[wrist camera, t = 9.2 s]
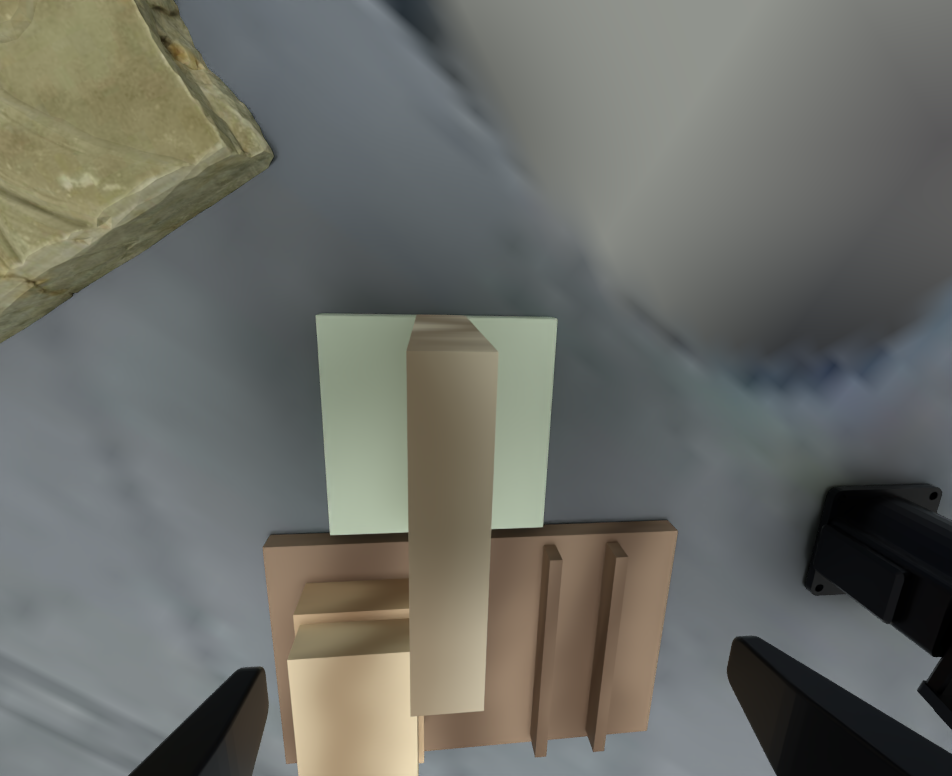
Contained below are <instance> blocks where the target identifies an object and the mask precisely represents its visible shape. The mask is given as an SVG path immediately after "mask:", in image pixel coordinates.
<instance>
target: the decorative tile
mask: <svg viewBox="0 0 952 776" xmlns="http://www.w3.org/2000/svg"><path fill="white" fill-rule="evenodd" d="M273 157H274V155H273V152H272V150H271V148H270V146H269V145H268V143H267V142H266V140H265V139H264V137H263V134H262V132H261V129H260V127H259V125H258V124H257V123H256V121H255V120H254V118H253V116H252V114H251V113H250V111H249V110H248V109H247V107H246V106H245V104H243V103H242V102H240V101H239V100H238V99H237V97H236V96H235V95H234V93H233V92H232V91H231V90H230V89H229V88H228V87H227V86H226V85H225V84H224V83H223V82H222V81H221V79H220V78H219V77H217V76H216V75H215V74H214V73H212V72H211V71H210V70H209V69H208V68H207V66H206V64H205V62H204V61H203V59H202V56H201V54H200V52H199V51H198V50H197V49H196V48H195V47H194V44H193V41H192V39H191V36H190V34H189V31H188V29H187V27H186V26H185V24H184V22H183V21H182V19H181V17H180V15H179V9H178V6H177V5H176V4H175V2H174V0H0V343H1V342H3V341H5V340H6V339H8V338H10V337H11V336H13V335H15V334H16V333H18V332H20V331H21V330H23V329H25V328H26V327H28V326H29V325H31V324H32V323H34V322H35V321H37V320H38V319H40V318H41V317H43V316H45V315H46V314H47V313H49V312H50V311H52V310H53V309H55V308H56V307H57V306H59V305H60V304H62V303H63V302H65V301H66V300H68V299H69V298H71V297H72V295H73V293H77V292H79V291H80V290H81V289H83V288H85V287H86V286H88V285H89V284H91V283H92V282H94V281H96V280H97V279H99V278H101V277H102V276H104V275H105V274H107V273H109V272H110V271H112V270H113V269H115V268H117V267H119V266H120V265H122V264H124V263H125V262H127V261H129V260H131V259H132V258H134V257H135V256H137V255H139V254H140V253H142V252H143V251H145V250H146V249H148V248H149V247H151V246H152V245H154V244H155V243H157V242H158V241H159V240H161V239H162V238H164V237H165V236H166V235H167V234H169V233H171V232H172V231H174V230H175V229H177V228H178V227H180V226H181V225H183V224H184V223H186V222H187V221H188V220H190V219H191V218H193V217H194V216H196V215H197V214H199V213H200V212H202V211H203V210H205V209H207V208H209V207H211V206H212V205H214V204H215V203H216V202H218V201H219V200H221V199H222V198H224V197H225V196H227V195H228V194H230V193H231V192H233V191H234V190H236V189H238V188H239V187H241V186H242V185H243V184H245V183H246V182H248V181H249V180H251V179H252V178H254V177H255V176H257V175H258V174H260V173H261V172H263V171H264V170H265V169H267V168H268V167H269V164H270V162H271V160H272V159H273Z"/></svg>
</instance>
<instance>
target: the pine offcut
mask: <svg viewBox="0 0 952 776" xmlns="http://www.w3.org/2000/svg"><path fill="white" fill-rule="evenodd" d="M287 664H288V674H289V684H290V694H291V704H292V714H293V724H294V734H295V744H296V754H297V764H298V774H299V776H418V771H419V726H418V716H414V717H410V630H409V618H404V619H388V620H371V621H354V622H337V623H320V624H303V625H300V626H299V629H298V632H297V634H296V637H295V640H294V643H293V645H292V648H291V651H290V654H289V656H288V659H287Z"/></svg>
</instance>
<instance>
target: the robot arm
mask: <svg viewBox="0 0 952 776" xmlns="http://www.w3.org/2000/svg"><path fill="white" fill-rule="evenodd" d="M941 496H942V491H941V489H940V488H938V487H935V486H933V485H930V484H918V485H884V486H850V487H835V488H833V489H831V490H830V491H829V492H828V494H827V497H826V501H825V505H824V509H823V514H822V518H821V522H820V526H819V530H818V534H817V538H816V542H815V546H814V550H813V554H812V558H811V562H810V566H809V570H808V575H807V579H806V583H805V587H806V589H807V590H808V591H810V592H811V593H812V594H813V595H817V596H819V595H836V594H847V595H848V596H850V597H851V598H852V599H854V600H855V601H856V602H858V603H859V604H860V605H862V606H863V607H864V608H865V609H867V610H868V611H869V612H871V613H872V614H873V615H875V616H876V617H877V618H879V619H880V620H881V621H883V622H884V623H886V624H890V625H892V626H893V627H894V628H896V629H897V630H898V631H900V632H901V633H902V634H904V635H905V636H906V637H908V638H909V639H910V640H912V641H913V642H914V643H916V644H917V645H918V646H919V647H921V648H922V649H923V650H925V651H926V652H927V653H929V654H930V655H931V656H933V657H942V658H941V659H940V661H939V662H938V664H937V665H936V667H935V668H934V670H933V672H932V673H931V675H930V676H929V678H928V679H927V681H925V680H923V681H922V683H921V685H920V686H919V688H918V689H917V691H918V692H919V693H920V695H921V696H922V697H923V698H924V699H925V700H926V701H927V702H928V703H929V704H930V705H931V707H932V708H933V709H934V711H935V712H936V713H937V714H938V715H939V716H940V717H941V719H942V720H943V721H944V722H945V723H946V724H947V725H948V726H949V727H950V728H951V729H952V520H950V519H948V518H946V517H943V516H941V515H939V514H937V513H936V512H937V509H938V506H939V503H940V500H941ZM727 675H728V679H729V682H730V685H731V687H732V689H733V691H734V693H735V695H736V697H737V699H738V701H739V703H740V705H741V707H742V709H743V711H744V713H745V715H746V717H747V719H748V721H749V723H750V725H751V727H752V729H753V731H754V733H755V735H756V737H757V738H758V740H759V742H760V744H761V746H762V748H763V750H764V752H765V754H766V756H767V758H768V760H769V762H770V764H771V766H772V768H773V770H774V771H775V773H776V775H777V776H952V754H951V753H949V752H948V751H946V750H944V749H943V748H941V747H939V746H938V745H936V744H934V743H933V742H931V741H929V740H928V739H926V738H924V737H923V736H921V735H919V734H918V733H916V732H915V731H913V730H911V729H910V728H908V727H906V726H905V725H903V724H901V723H900V722H898V721H896V720H895V719H893V718H891V717H890V716H888V715H886V714H885V713H883V712H881V711H880V710H878V709H877V708H875V707H873V706H872V705H870V704H868V703H867V702H865V701H863V700H862V699H860V698H858V697H857V696H855V695H853V694H852V693H850V692H848V691H847V690H845V689H843V688H842V687H840V686H838V685H837V684H835V683H834V682H832V681H830V680H829V679H827V678H825V677H824V676H822V675H820V674H819V673H817V672H815V671H814V670H812V669H810V668H809V667H807V666H805V665H804V664H802V663H800V662H799V661H797V660H796V659H794V658H792V657H791V656H789V655H787V654H786V653H784V652H782V651H781V650H779V649H777V648H776V647H774V646H772V645H771V644H769V643H767V642H766V641H764V640H762V639H761V638H759V637H757V636H739V637H736V638H735V639H734V640H733V642H732V646H731V651H730V656H729V661H728V666H727ZM268 707H269V701H268V692H267V683H266V675H265V670H264V668H262V667H245V668H240V669H238V670H237V671H235V672H234V673H233V674H232V675H231V676H230V677H229V678H228V679H227V680H226V681H225V682H224V683H223V684H222V685H221V686H220V687H219V688H218V689H217V690H216V691H215V692H214V693H213V694H212V695H211V696H209V697H208V698H207V699H206V700H205V701H204V702H203V703H202V704H201V705H200V706H199V707H198V708H197V709H196V710H195V711H194V712H193V713H192V714H191V715H190V716H189V717H188V718H187V719H186V720H185V721H184V722H183V723H182V724H181V725H180V726H179V727H178V728H177V729H176V730H174V731H173V732H172V733H171V734H170V735H169V736H168V737H167V738H166V739H165V740H164V741H163V742H162V743H161V744H160V745H159V746H158V747H157V748H156V749H155V750H154V751H153V752H152V753H151V754H150V755H149V756H148V757H147V758H146V759H145V760H144V761H143V762H142V763H141V764H140V765H138V766H137V767H136V768H135V769H134V770H133V771H132V772H131V773H130V774H129V775H128V776H252V773H253V769H254V765H255V761H256V758H257V754H258V750H259V746H260V742H261V739H262V735H263V731H264V727H265V723H266V719H267V715H268Z"/></svg>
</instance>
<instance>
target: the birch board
mask: <svg viewBox="0 0 952 776" xmlns="http://www.w3.org/2000/svg"><path fill="white" fill-rule="evenodd" d="M498 355H499V352H498V351H497V350H496V349H495V347H494V346H493V345H492V344H491V343H490V342H489V341H488V340H487V339H486V338H485V337H484V336H483V334H482V333H481V332H480V331H479V330H478V329H477V328H476V327H475V326H474V325H473V324H472V322H471V321H470V320H469V319H468V318H467V317H466V316H465V315H416V318H415V322H414V325H413V329H412V333H411V336H410V340H409V343H408V347H407V350H406V369H407V456H408V543H409V630H410V717H414V716H426V715H439V714H451V713H464V712H476V711H484V695H485V670H486V646H487V622H488V598H489V573H490V549H491V525H492V501H493V476H494V452H495V428H496V404H497V379H498Z"/></svg>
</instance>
